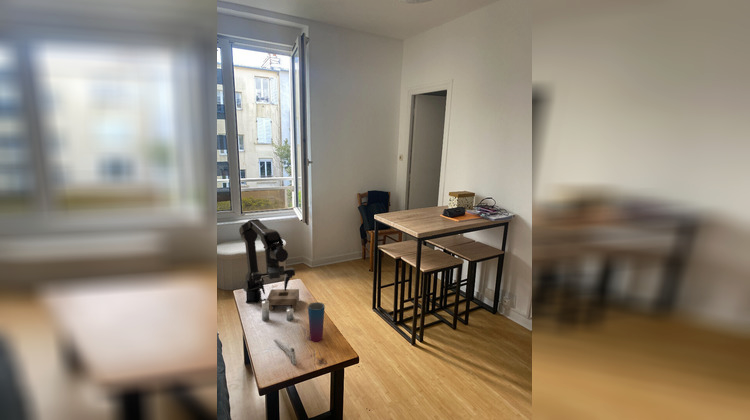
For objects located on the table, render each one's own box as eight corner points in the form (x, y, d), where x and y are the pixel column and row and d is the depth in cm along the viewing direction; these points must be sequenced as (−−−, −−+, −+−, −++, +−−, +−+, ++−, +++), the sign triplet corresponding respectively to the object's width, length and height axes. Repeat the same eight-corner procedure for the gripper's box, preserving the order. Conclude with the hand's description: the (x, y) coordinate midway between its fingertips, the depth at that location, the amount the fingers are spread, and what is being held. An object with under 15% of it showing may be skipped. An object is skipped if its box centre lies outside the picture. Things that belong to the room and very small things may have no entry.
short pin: (286, 321, 170) (286, 310, 169) (287, 317, 174) (286, 307, 173) (293, 321, 171) (293, 310, 170) (293, 317, 174) (293, 307, 173)
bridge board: (267, 310, 180) (266, 299, 179) (271, 300, 191) (271, 289, 190) (296, 310, 181) (296, 298, 180) (298, 300, 193) (298, 289, 192)
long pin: (261, 321, 169) (261, 303, 168) (262, 318, 172) (262, 300, 171) (268, 321, 170) (268, 302, 168) (269, 318, 173) (269, 299, 171)
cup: (306, 336, 158) (306, 303, 155) (322, 333, 160) (322, 301, 158) (310, 344, 151) (310, 310, 149) (326, 341, 154) (326, 308, 151)
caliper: (295, 365, 138) (295, 349, 137) (293, 366, 137) (293, 350, 136) (276, 340, 154) (275, 326, 153) (273, 341, 154) (273, 327, 153)
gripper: (251, 265, 157) (254, 301, 159) (295, 259, 163) (298, 294, 165) (250, 260, 168) (253, 293, 169) (292, 255, 174) (294, 287, 175)
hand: (274, 292), depth 169 cm, fingers open, 9 cm apart
